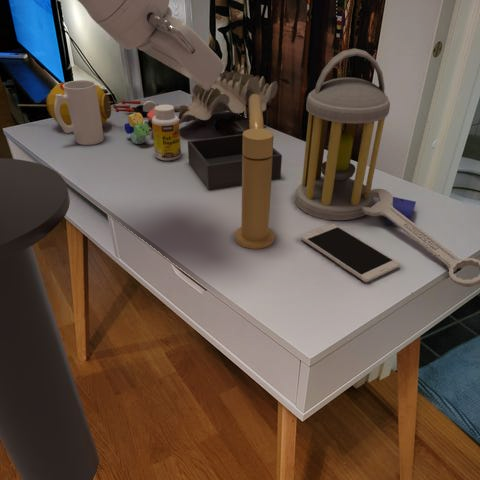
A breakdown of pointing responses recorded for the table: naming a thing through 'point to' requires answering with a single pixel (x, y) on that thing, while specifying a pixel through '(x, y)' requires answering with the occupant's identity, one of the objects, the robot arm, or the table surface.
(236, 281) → the table surface
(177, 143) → the supplement bottle
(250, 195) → the faucet column
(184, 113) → the seashell
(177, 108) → the pen
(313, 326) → the table surface
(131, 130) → the dice
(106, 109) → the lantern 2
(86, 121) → the mug
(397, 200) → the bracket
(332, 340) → the table surface
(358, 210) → the lantern
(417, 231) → the wrench
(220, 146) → the tray
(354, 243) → the smartphone
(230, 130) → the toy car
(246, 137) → the spout
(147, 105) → the watch
